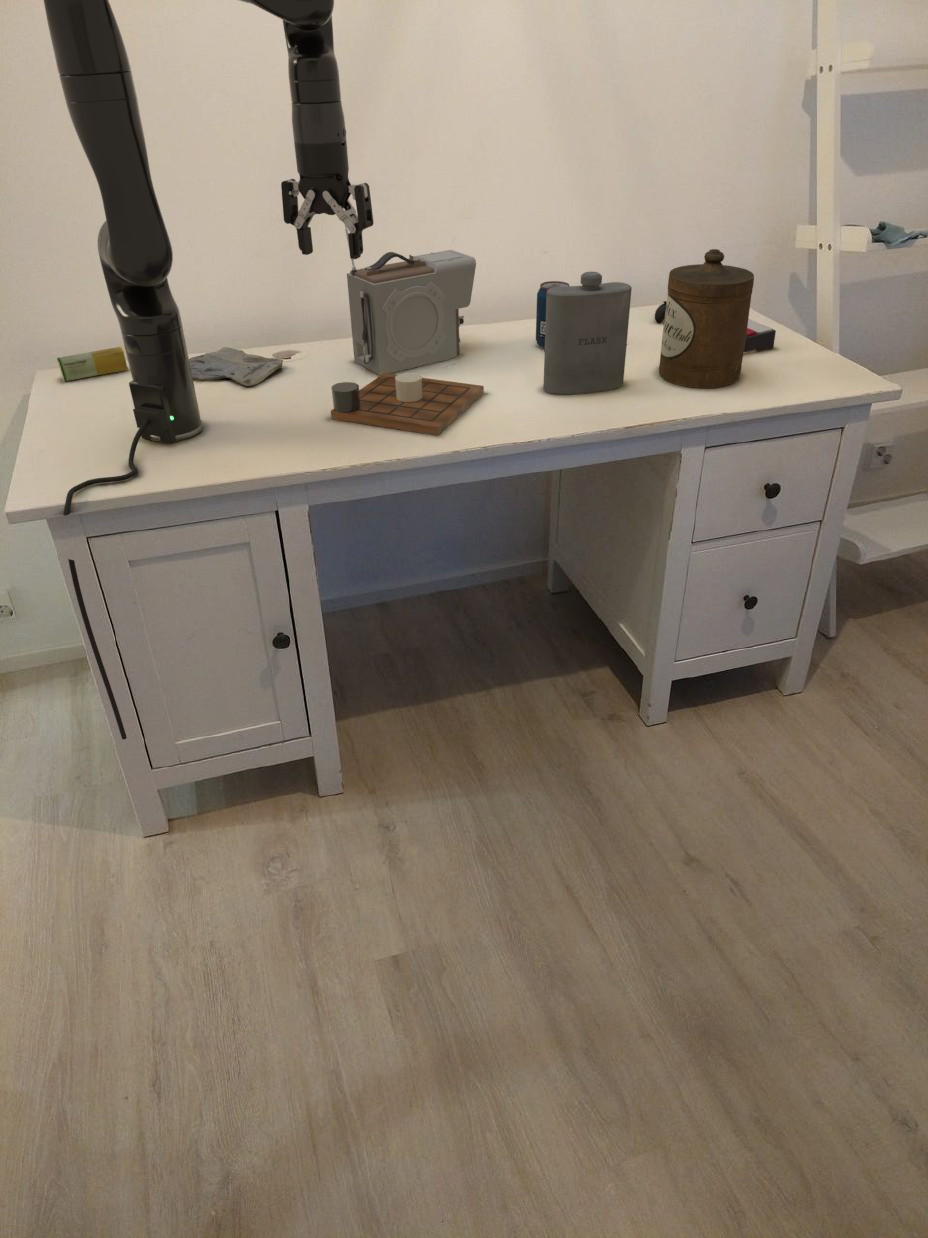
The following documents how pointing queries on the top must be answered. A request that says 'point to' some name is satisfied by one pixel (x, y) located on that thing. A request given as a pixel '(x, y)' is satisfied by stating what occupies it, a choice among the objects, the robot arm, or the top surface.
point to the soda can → (543, 310)
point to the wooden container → (705, 323)
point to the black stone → (345, 397)
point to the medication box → (92, 363)
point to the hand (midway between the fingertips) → (331, 255)
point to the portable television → (409, 309)
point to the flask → (586, 336)
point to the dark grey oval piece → (660, 312)
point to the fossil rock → (233, 366)
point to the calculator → (759, 337)
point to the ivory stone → (408, 387)
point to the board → (412, 405)
